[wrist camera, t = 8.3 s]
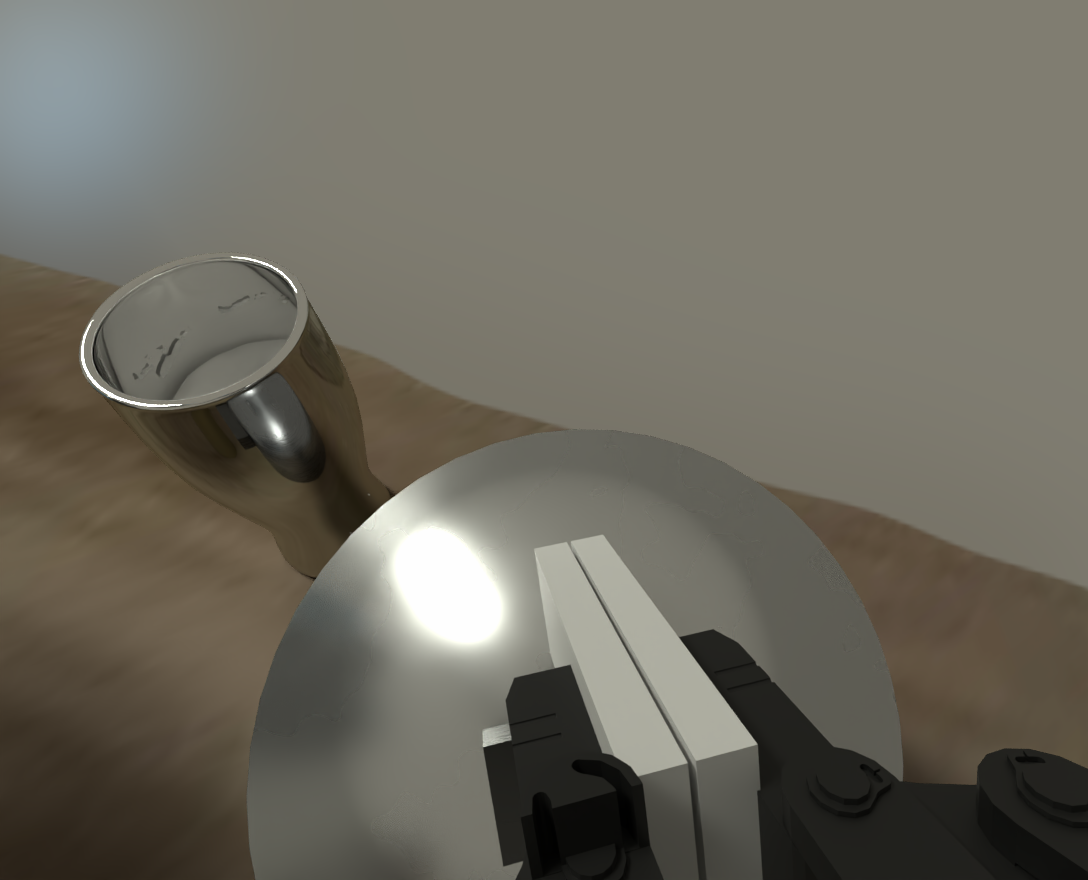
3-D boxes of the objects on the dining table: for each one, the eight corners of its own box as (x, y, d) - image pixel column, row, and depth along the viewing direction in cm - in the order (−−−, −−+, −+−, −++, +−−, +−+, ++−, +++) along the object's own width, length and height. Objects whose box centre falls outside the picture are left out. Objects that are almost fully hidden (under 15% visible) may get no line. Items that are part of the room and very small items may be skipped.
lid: (943, 999, 14) (1026, 1084, 12) (321, 1222, 12) (286, 1375, 10) (790, 393, 16) (838, 374, 14) (229, 494, 14) (183, 489, 12)
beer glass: (254, 588, 28) (22, 413, 15) (288, 466, 31) (126, 245, 19) (395, 588, 28) (283, 416, 15) (412, 468, 31) (334, 248, 19)
